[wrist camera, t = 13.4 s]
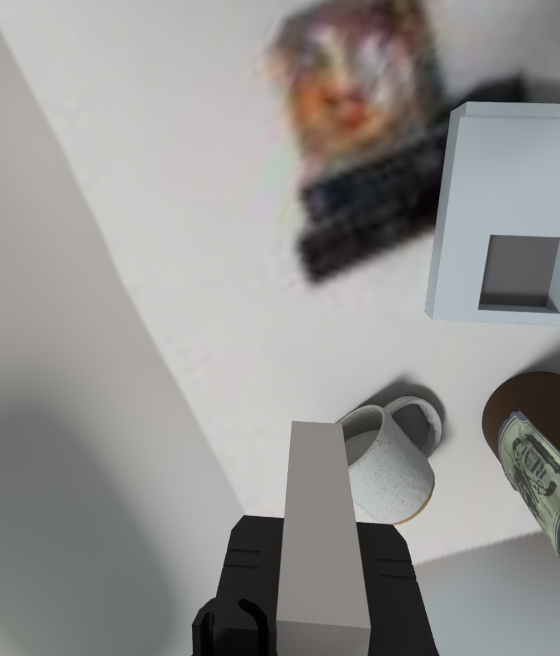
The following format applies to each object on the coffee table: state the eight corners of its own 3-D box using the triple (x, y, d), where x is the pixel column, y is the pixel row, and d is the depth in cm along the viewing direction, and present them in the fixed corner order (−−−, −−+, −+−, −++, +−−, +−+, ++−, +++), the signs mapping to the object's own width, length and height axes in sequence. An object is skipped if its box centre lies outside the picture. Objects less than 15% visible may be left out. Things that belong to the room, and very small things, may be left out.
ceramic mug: (370, 493, 44) (383, 551, 37) (314, 439, 43) (317, 488, 36) (456, 429, 42) (488, 477, 35) (400, 369, 41) (421, 406, 33)
